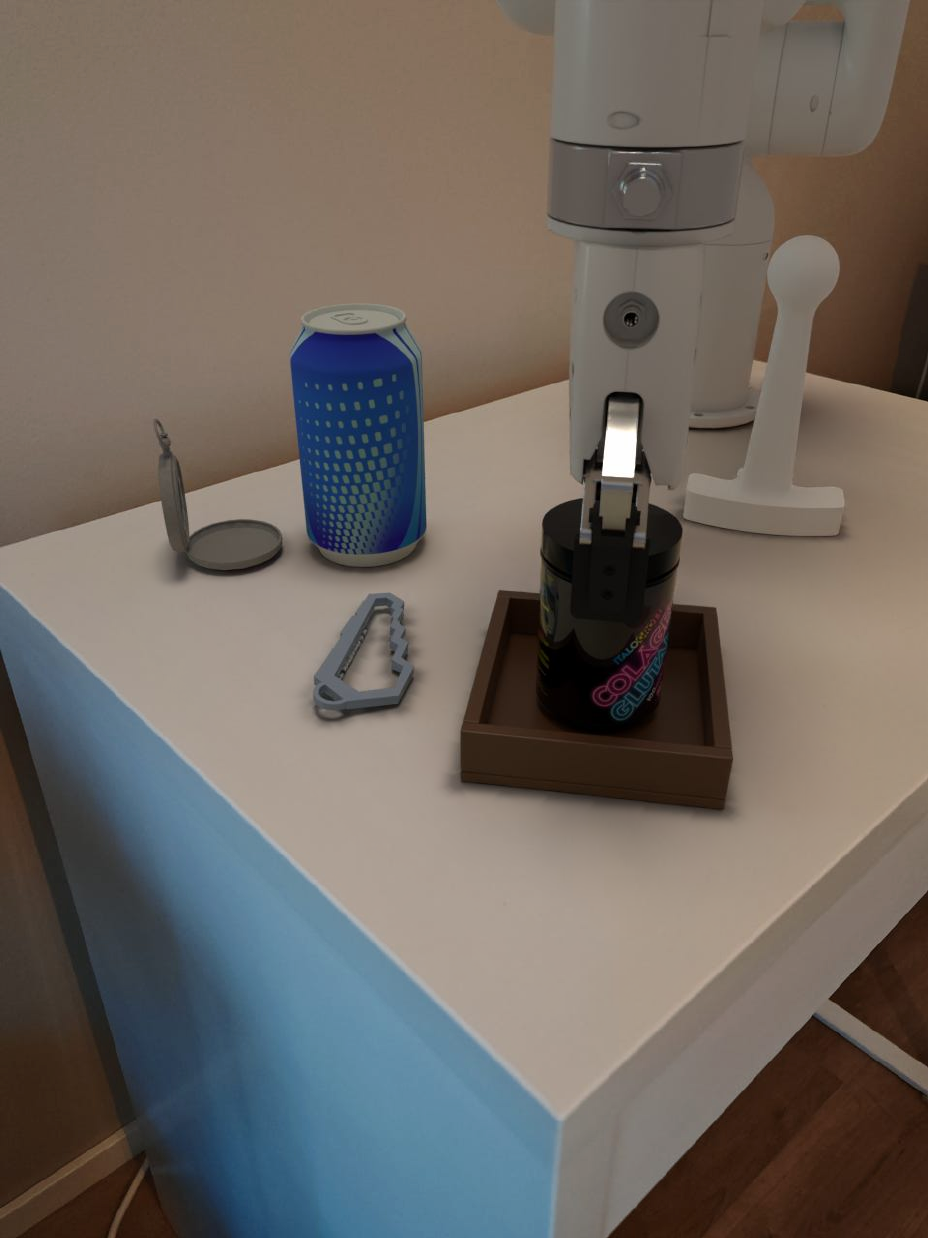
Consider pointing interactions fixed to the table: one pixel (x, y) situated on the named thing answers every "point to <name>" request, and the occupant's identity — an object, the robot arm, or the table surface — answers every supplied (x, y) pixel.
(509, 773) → the tray
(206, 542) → the pocket watch
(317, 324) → the beer can
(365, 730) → the table surface
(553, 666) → the supplement container
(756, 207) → the robot arm
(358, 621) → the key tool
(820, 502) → the joystick
